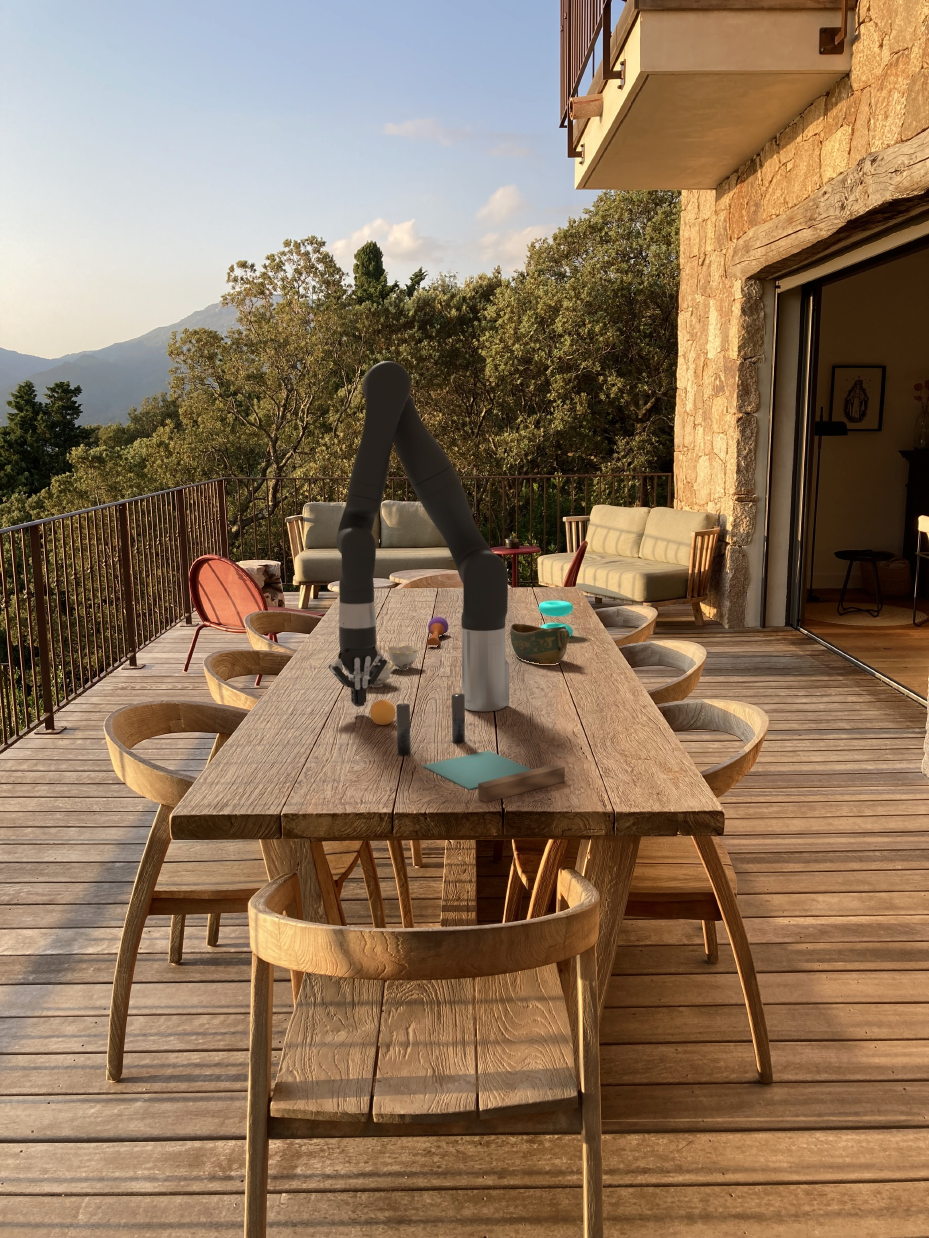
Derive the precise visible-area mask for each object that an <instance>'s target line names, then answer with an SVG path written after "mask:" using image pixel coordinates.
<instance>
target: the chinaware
mask: <svg viewBox="0 0 929 1238" xmlns="http://www.w3.org/2000/svg"><path fill="white" fill-rule="evenodd" d="M377 622H378V620H376V623H377ZM375 647H376V650H377V652H378V655H379V656H380V657H381V658H384V659H385V656H384V655H383V653H382V652H381V651H380V649H379V646H378V643H377V641H376V645H375ZM420 649H421V648H420V646H415V647H413V646H411V645H408V644H404V645H401V646H398V647H397V646H392V645H391V646H388V647H387V649H385V653H387V656H388V657H389V659H387V664H386V665H385V667H384V669H383V670H382V672H381V673H380V675H379V677H378V678H377V680H376V681H375V683H374V684H370V685H368V686H367V687H371V686H372V687H371V688H380V687H383V686H384V683H385V682H386V681H388V679H389V678H390V676H391V672H392V668H394V667H396V668H398V669H399V670H398V669H397V670H398V671H406V670H405V669H407V667H408V668H409V667H411V666H412V665H413V664H414V663H415V662H416V660H417V657H418V654H419V651H420ZM372 666H373V664H372ZM372 666H371V667H372ZM371 667H370V669H371ZM400 669H401V670H400ZM402 669H403V670H402ZM343 670H345V672H346V673H347V670H346V669H345V667H344V666H343ZM379 686H380V687H379Z"/></svg>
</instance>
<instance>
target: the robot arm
mask: <svg viewBox="0 0 929 1238" xmlns="http://www.w3.org/2000/svg"><path fill="white" fill-rule="evenodd" d="M361 388H362V395H363V398H364V399H365V416H364V423H363V424H364V425H363V430H362V434H361V438H360V442H359V445H358V450H357V452H356V456H355V459H354V462H353V467H352V470H351V475H350V479H349V484H348V489H347V494H346V502H345V506H344V510H343V512H342V515H341V519H340V521H339V525H338V529H337V532H336V533H337V535H336V540H335V541H336V542H335V543H336V548H337V549H338V552H339V553H340V554H341V576H340V577H339V583H338V584H339V585H338V586H339V587H338V591H339V593H338V594H339V606H338V642H339V643H338V645H339V652H338V655H337V660H336V661H335V662H334V663H330V664H329V665H328V669H329V671H331V673H332V674H333V675H334V677H335V678H336V679H337V680H338V682H340V683H341V685H343V686H344V687H347V688H348V689H350V701H351V703H352V704H353V706H354V707H356V708H358V707H364V706H365V704H366V703H367V688H368V687H369V686H370V685H371V684H374V683H375V681H376V680H377V678H378V677H379V675H380V673H381V672H382V670H383V669H384V667H385V665H386V664H387V661H388V659H385V657H384V658H381V657H380V656H379V655H378V652H377V650H376V647H375V645H376V642H377V622H376V621H377V620H376V619H377V617H376V616H377V615H376V613H377V612H376V606H375V584H374V583H375V582H374V574H375V568H376V555H377V554H376V553H377V545H376V540H375V539H376V538H375V536H374V535H373V533H372V532H373V528H374V523H375V519H376V516H377V515H378V514H379V512H380V509H381V506H382V502H383V497H384V492H385V487H386V483H387V477H388V471H389V465H390V458H391V453H392V448H393V446H394V448H395V451H396V454H397V457H398V459H399V461H400V464H401V466H402V468H403V471H404V473H405V474H406V477H407V479H408V481H409V484H410V486H412V489H413V491H414V493H415V494H416V496H417V498H418V500H419V502H420V504H421V505H422V507H423V508H424V510H425V512H426V513H427V515H428V517H429V519H430V520H431V521H432V523H433V524H434V526H435V527H436V529H437V531H438V532H439V533H440V535H441V536H442V538H443V540H444V542H445V544H446V546H447V547H448V551H449V553H450V555H451V557H452V561H453V562H454V565H455V568H456V569H457V573H458V575H459V578H460V580H461V582H462V585H463V586H462V587H463V589H462V592H463V594H462V595H463V596H462V597H463V598H462V599H463V604H462V613H461V619H460V620H461V624H460V625H461V694H464V695H465V710H468V711H472V712H493V711H495V712H496V711H499V710H502V709H504V708H505V707H509V706H510V662H509V661H508V660H506V620H507V619H506V618H507V614H508V606H509V605H508V604H509V603H508V600H509V599H508V596H509V595H508V594H509V574H508V573H509V572H508V568H507V567H508V566H507V565H506V563H505V561H504V560H503V559H502V557H500V556H499V555H497V554H496V553H495V552H494V551H493V549H491V548H490V547H491V546H489V544H488V543H487V541H486V540H485V538H484V537H483V535H482V533H481V531H480V530H479V528H478V527H477V525H476V521H475V519H474V517H473V514H472V511H471V507H470V503H469V501H468V498H467V495H466V492H465V490H464V487H463V485H462V481H461V480H460V478H459V476H458V474H457V471H456V470H455V468H454V466H453V464H452V462H451V460H450V459H449V457H448V455H447V454H446V453H445V451H444V449H443V448H442V447H441V446H440V444H439V443H438V441H437V440H436V439H435V438H434V436H433V435H432V434H431V432H430V430H429V429H427V428H426V426H425V424H424V423H423V421H422V419H421V417H420V415H419V413H418V410H417V408H416V405H415V404H414V402H413V399H412V396H411V391H412V381H411V377H410V375H409V373H408V371H407V369H406V368H404V367H403V366H402V365H401V364H399V363H398V362H394V361H390V360H387V361H382V362H379V363H377V364H374V365H373V366H371V368H370V369H369V370H368V371H367V373H365V375H364V378H363V379H362V383H361ZM372 664H373V666H372ZM371 666H372V667H371ZM344 667H345V669H346V670H347V672H346V673H347V675H346V674H345V673H344V672H343V671H344V670H345V669H344ZM370 667H371V669H370ZM346 670H345V671H346ZM368 685H369V686H368Z"/></svg>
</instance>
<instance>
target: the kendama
mask: <svg viewBox="0 0 929 1238" xmlns="http://www.w3.org/2000/svg"><path fill="white" fill-rule="evenodd" d="M427 629H428V632H429V634H430V633H431V634H432V635H431V634H430V637H429V638H428V639H427V642H426V645H427V646H428V645H439V646H440V640H439V639H440V637H438V636H439V635H443V634H444V633H446V632H447V633H448V631H449V623H448V620H446V619H445V618H444V617H442V616H435V617H432V618H431V619H430V620H429V622H428V625H427ZM447 633H446V634H447Z"/></svg>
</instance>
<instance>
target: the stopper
mask: <svg viewBox="0 0 929 1238" xmlns="http://www.w3.org/2000/svg"><path fill="white" fill-rule="evenodd" d="M565 770H566V768H565V766H564V765H561V764H559V763H553V764H550V765H546V766H542V767H537V768H534V769H532V770H530V771H526V772H522V773H518V774H514V775H510V776H506V777H502V778H498V779H494V780H490V781H486V782H482V783H478V788H477V792H478V797H477V798H478V799H479V800H480V801H483V802H484V803H489V802H493V801H496V800H499V799H505V798H507V797H511V796H514V795H515V796H517V795H518V794H523V793H527V792H529V791H533V790H536V789H537V790H538V789H542V788H545V787H549V786H552V785H557V784H559V783H564V782H566V778H565V777H566V774H565V772H566V771H565Z"/></svg>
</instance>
